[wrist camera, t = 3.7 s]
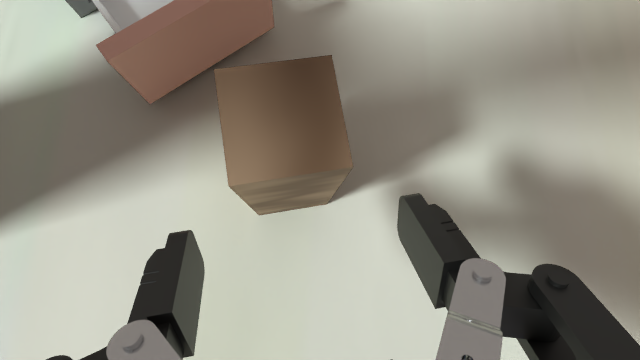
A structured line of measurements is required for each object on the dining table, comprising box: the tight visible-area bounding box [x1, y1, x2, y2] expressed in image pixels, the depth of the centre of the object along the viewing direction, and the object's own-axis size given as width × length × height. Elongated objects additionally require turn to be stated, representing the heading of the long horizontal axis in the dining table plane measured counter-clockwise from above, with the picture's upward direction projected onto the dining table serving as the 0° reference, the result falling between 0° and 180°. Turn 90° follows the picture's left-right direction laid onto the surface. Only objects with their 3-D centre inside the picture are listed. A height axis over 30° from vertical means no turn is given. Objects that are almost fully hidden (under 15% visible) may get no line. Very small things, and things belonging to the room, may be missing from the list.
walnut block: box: [214, 55, 353, 215], centre depth 20 cm, size 5×5×12 cm
